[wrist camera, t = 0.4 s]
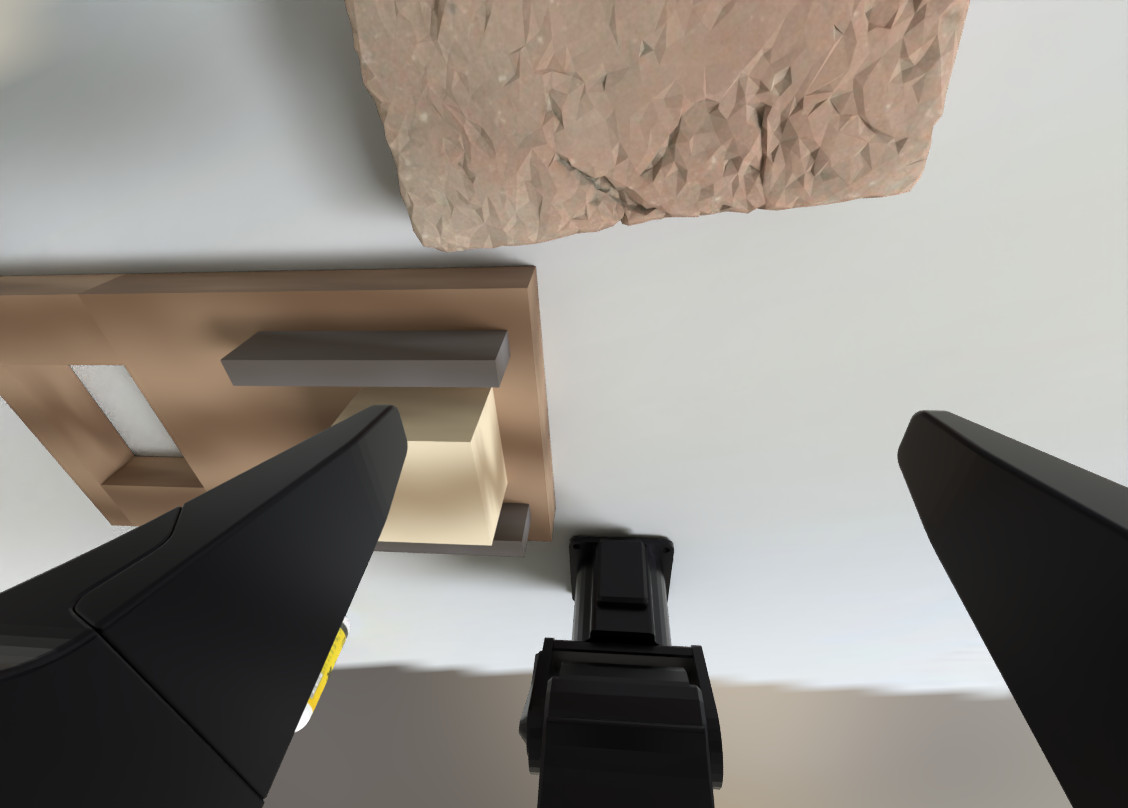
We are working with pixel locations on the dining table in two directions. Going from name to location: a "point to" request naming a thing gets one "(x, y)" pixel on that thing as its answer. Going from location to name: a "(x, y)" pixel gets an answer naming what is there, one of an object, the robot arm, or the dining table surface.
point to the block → (443, 464)
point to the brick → (648, 107)
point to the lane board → (272, 373)
